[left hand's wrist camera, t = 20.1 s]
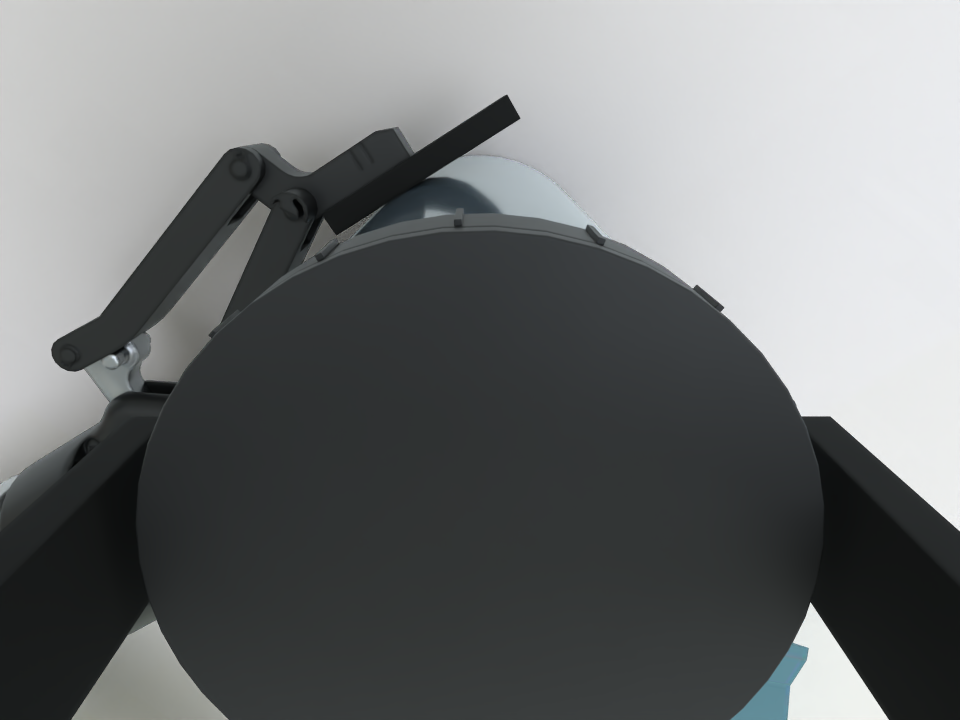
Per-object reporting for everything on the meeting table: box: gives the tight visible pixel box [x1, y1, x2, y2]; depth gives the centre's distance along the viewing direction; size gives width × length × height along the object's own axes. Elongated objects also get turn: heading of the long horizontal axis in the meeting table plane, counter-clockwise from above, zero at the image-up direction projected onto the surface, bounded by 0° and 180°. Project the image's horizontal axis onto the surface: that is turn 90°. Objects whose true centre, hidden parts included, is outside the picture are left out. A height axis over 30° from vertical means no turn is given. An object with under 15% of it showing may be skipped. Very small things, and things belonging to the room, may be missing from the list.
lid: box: [135, 208, 824, 720], centre depth 11 cm, size 11×11×2 cm
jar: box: [350, 155, 610, 239], centre depth 20 cm, size 10×10×19 cm
